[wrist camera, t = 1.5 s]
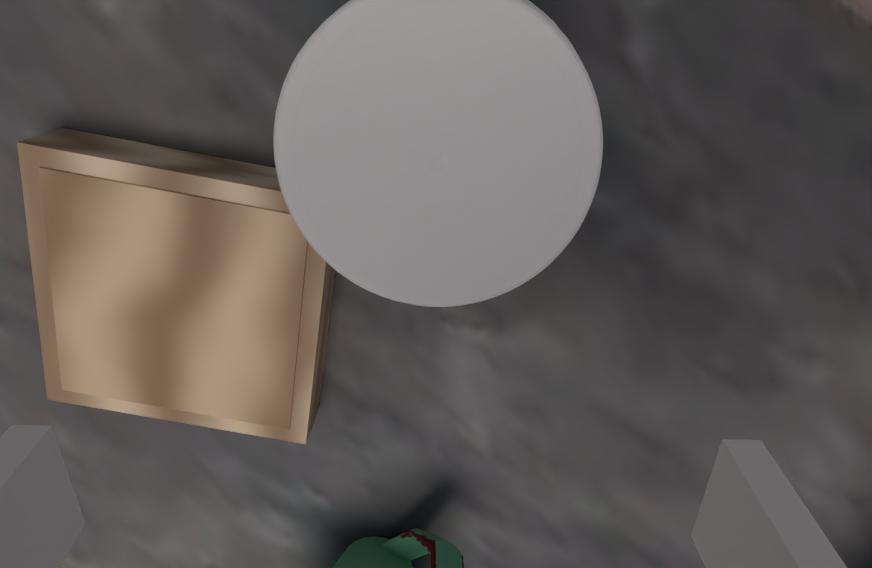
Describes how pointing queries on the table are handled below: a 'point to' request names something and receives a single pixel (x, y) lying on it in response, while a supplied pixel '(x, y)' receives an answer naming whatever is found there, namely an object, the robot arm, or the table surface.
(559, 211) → the supplement tub
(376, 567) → the mug
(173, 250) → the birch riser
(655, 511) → the table surface
